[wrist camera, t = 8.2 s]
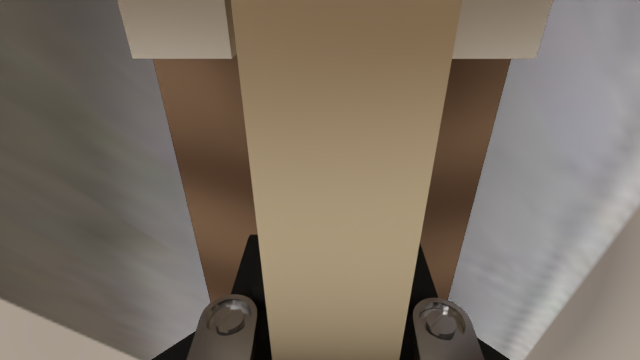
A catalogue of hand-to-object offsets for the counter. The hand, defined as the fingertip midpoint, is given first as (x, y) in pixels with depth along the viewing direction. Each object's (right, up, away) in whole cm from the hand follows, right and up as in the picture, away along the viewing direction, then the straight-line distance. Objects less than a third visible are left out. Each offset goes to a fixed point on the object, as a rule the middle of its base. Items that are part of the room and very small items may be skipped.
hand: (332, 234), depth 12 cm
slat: (0, 0, +1) cm, 1 cm away
